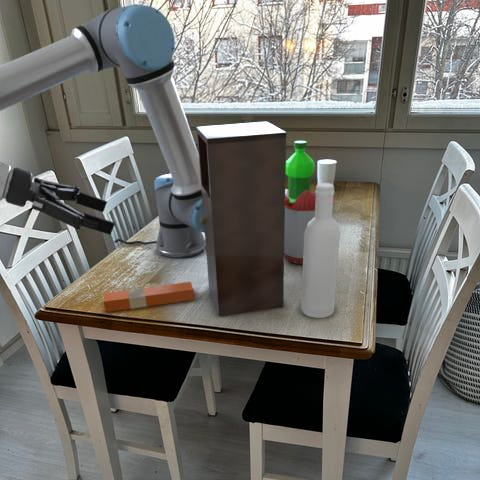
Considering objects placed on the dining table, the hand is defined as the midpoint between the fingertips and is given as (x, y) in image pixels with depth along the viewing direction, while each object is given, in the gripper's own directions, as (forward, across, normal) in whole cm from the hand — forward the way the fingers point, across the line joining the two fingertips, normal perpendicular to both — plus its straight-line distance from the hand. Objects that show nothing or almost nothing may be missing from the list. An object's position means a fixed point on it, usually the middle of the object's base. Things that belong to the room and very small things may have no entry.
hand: (108, 217), depth 107 cm
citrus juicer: (+58, +5, -6) cm, 58 cm away
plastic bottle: (+73, +39, -11) cm, 84 cm away
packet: (+16, -4, +16) cm, 23 cm away
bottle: (+47, -25, -2) cm, 54 cm away
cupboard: (+36, -12, +5) cm, 38 cm away
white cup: (+97, +66, -22) cm, 120 cm away
